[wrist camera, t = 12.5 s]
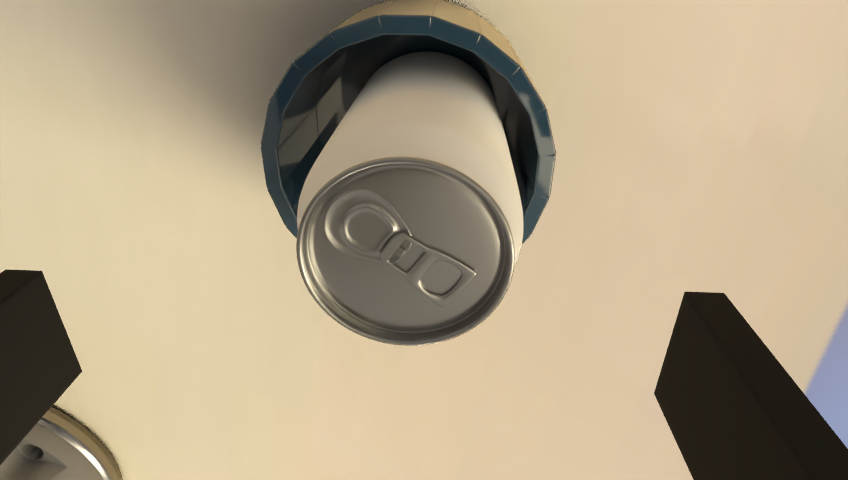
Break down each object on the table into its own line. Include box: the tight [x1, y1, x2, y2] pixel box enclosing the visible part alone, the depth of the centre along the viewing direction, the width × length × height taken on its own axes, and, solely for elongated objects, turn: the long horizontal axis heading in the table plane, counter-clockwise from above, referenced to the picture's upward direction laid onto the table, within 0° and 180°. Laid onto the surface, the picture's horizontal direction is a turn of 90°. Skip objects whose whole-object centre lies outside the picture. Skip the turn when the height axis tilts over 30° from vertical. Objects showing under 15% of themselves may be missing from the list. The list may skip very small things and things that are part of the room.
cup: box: [261, 0, 556, 244], centre depth 22 cm, size 10×10×6 cm
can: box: [296, 51, 523, 346], centre depth 19 cm, size 6×6×12 cm
